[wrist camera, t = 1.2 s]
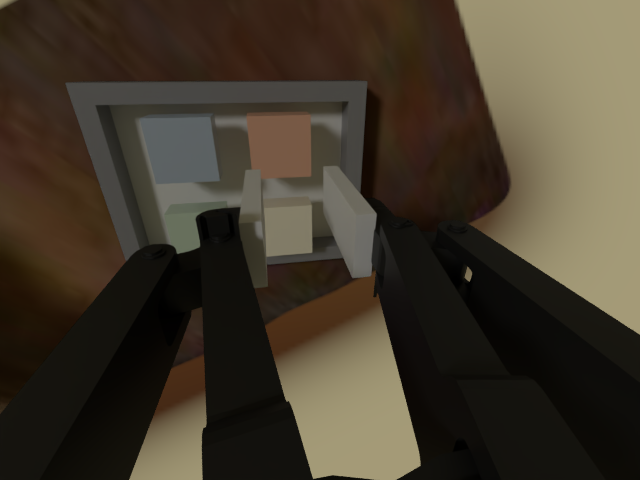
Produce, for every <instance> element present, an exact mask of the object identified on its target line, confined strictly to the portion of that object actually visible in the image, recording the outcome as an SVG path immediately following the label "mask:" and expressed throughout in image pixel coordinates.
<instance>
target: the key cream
mask: <svg viewBox="0 0 640 480" xmlns="http://www.w3.org/2000/svg"><path fill="white" fill-rule="evenodd" d="M263 204H264V215H265V236H266V257H269V256H280V255H292V254H303V253H312V205H311V202H310V200H309V197H308V196H303V197H286V198H269V199H263Z"/></svg>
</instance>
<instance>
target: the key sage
mask: <svg viewBox="0 0 640 480" xmlns="http://www.w3.org/2000/svg"><path fill="white" fill-rule="evenodd" d="M221 208H228V205H227V201H219V202H202V203H185V204H171V205H170V206H169V208H168V209H167V211H166V212H165V214H164V217H165V221H166V225H167V229H168V233H169V237H170V241H171V245H172V246H174V247H175V248H176V251H177V254H179V253H183V252H187V251H191V250H194V249H196V248H199V247H200V239H199V234H198V229H197V225H196V220H195V219H196V217H197V215H199V214H200V213H202V212H205V211H207V210H212V209H221Z"/></svg>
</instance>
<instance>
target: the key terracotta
mask: <svg viewBox="0 0 640 480" xmlns="http://www.w3.org/2000/svg"><path fill="white" fill-rule="evenodd" d="M246 118H247V128H248V137H249V147H250V157H251V166H252V170H256V169H260V170H261V179H270V178H290V177H310V176H311V115H310V114H309V113H308V112H255V113H247V116H246Z"/></svg>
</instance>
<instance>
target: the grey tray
mask: <svg viewBox="0 0 640 480" xmlns="http://www.w3.org/2000/svg"><path fill="white" fill-rule="evenodd" d="M65 84H66V86H67V89H68V92H69V95H70V98H71V101H72V104H73V107H74V110H75V113H76V116H77V119H78V122H79V125H80V127H81V130H82V133H83V136H84V139H85V142H86V145H87V148H88V151H89V154H90V157H91V160H92V163H93V166H94V168H95V171H96V174H97V177H98V180H99V183H100V186H101V189H102V192H103V195H104V198H105V201H106V204H107V207H108V209H109V212H110V215H111V218H112V221H113V224H114V227H115V230H116V233H117V236H118V239H119V242H120V245H121V248H122V250H123V253H124V256H125V259H126V261H127V260H128V259H129V258H130V256H131V255H132V254H133V253H135V252H136V251H137V250H139V249H141V248H143V247H145V246H148V245H149V246H150V245H152V244H169V245H171V241H170V237H169V233H168V229H167V225H166V221H165V217H164V214H165V212H166V211H167V209H168V208H169V206H170V205H171V204H185V203H202V202H219V201H227V205H228V208H234V207H241V201H242V194H243V186H244V178H245V171H246V170H252V166H251V157H250V147H249V137H248V128H247V118H246V116H247V113H255V112H308V113H309V114H310V115H311V176H310V177H290V178H270V179H261V181H262V192H263V199H269V198H286V197H303V196H308V197H309V200H310V202H311V205H312V253H303V254H292V255H280V256H269V257H266V259H267V265H270V264H281V263H292V262H303V261H314V260H325V259H336V258H343V256H342V254H341V251H340V249H339V247H338V245H337V243H336V240H335V238H334V236H333V234H332V231H331V229H330V227H329V225H328V223H327V220H326V218H325V216H324V214H323V166H338V167H339V168H340V170H341V171H342V172H343V173H344V175H345V176H346V177H347V178H348V179H349V181H350V182H351V183H352V184H353V185H354V187H355V188H356V189H357V190H358V192H359V193H360V189H361V173H362V157H363V141H364V126H365V110H366V94H367V81H360V80H318V81H106V82H70V83H65ZM204 113H214V117H215V124H216V130H217V137H218V144H219V151H220V157H221V164H222V171H223V174H222V177H221V179H220V181H210V182H190V183H170V184H156V182H155V178H154V174H153V170H152V166H151V162H150V158H149V154H148V150H147V146H146V142H145V139H144V135H143V131H142V127H141V123H140V118H142V117H144V116H147V115H152V114H204Z"/></svg>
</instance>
